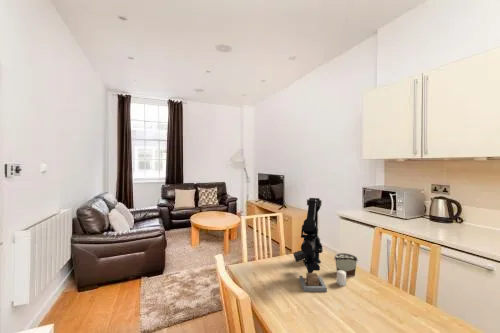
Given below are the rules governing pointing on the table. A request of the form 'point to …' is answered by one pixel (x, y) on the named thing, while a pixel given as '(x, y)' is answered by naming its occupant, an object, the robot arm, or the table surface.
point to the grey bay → (313, 288)
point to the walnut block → (312, 279)
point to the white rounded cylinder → (341, 278)
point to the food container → (346, 263)
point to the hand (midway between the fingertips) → (309, 275)
